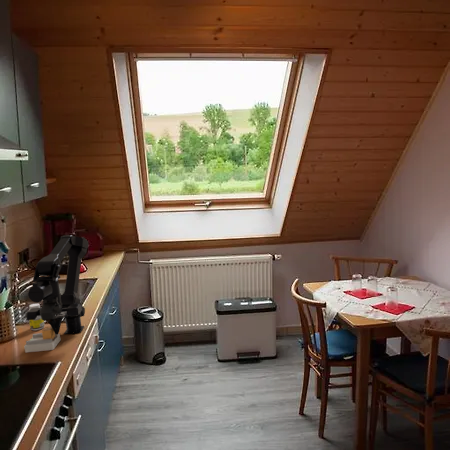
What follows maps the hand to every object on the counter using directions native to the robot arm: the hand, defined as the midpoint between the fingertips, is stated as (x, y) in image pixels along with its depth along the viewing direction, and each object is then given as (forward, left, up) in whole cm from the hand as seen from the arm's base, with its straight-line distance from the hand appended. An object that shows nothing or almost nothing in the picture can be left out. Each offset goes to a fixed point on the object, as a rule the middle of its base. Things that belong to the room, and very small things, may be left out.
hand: (57, 333), depth 164 cm
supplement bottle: (-20, -15, -4) cm, 25 cm away
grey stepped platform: (0, -6, -4) cm, 7 cm away
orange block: (0, -3, -2) cm, 3 cm away
